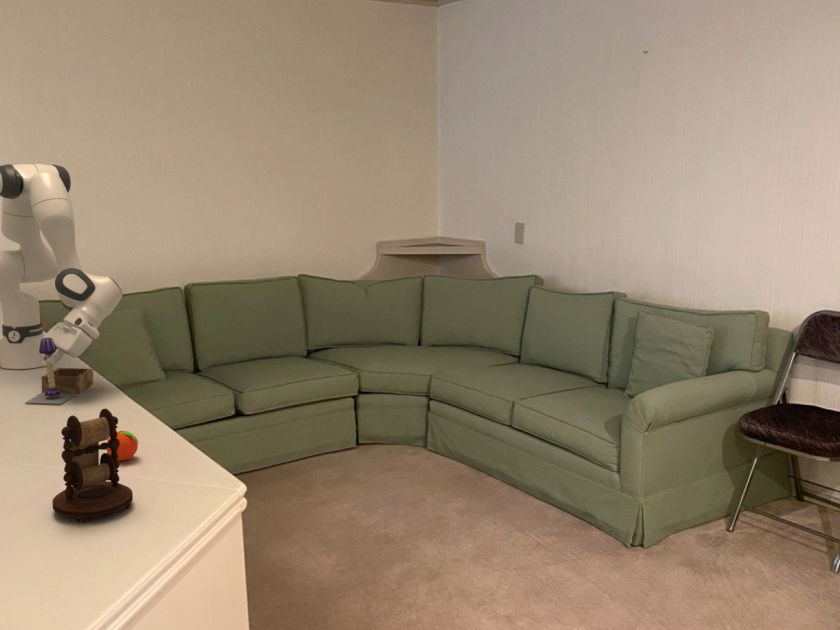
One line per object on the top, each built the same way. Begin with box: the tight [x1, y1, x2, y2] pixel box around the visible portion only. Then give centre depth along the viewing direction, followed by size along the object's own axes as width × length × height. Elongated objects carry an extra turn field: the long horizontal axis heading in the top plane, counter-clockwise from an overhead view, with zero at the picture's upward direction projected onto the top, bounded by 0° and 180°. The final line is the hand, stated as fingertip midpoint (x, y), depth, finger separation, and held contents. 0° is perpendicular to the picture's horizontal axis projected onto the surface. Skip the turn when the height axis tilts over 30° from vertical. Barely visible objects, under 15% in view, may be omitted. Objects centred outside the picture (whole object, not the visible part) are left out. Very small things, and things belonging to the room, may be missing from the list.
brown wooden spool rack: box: [52, 408, 134, 524], centre depth 155 cm, size 15×15×20 cm
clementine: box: [106, 430, 139, 462], centre depth 182 cm, size 8×7×7 cm
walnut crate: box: [40, 367, 94, 395], centre depth 240 cm, size 11×11×5 cm
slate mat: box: [24, 392, 76, 406], centre depth 228 cm, size 10×10×1 cm
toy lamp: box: [39, 338, 62, 396], centre depth 226 cm, size 5×5×17 cm
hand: (46, 361), depth 225 cm, fingers closed on toy lamp
